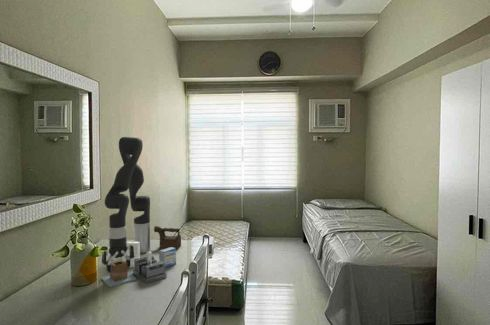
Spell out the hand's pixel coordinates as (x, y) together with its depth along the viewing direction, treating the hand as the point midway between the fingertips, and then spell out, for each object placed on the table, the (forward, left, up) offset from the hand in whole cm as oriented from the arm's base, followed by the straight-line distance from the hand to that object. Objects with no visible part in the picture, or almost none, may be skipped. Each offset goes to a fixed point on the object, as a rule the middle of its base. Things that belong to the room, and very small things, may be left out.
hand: (118, 269), depth 150 cm
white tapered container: (-15, +12, -5) cm, 20 cm away
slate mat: (0, 0, -5) cm, 5 cm away
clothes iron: (-28, +41, -5) cm, 50 cm away
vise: (+5, +13, -5) cm, 15 cm away
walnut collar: (0, 0, -4) cm, 4 cm away
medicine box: (-1, +26, -5) cm, 26 cm away
